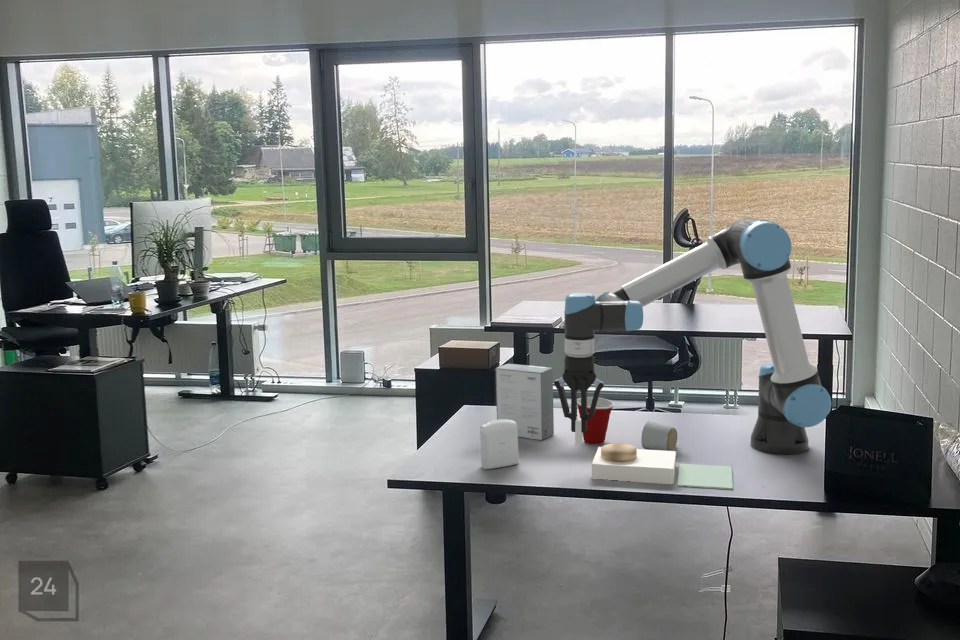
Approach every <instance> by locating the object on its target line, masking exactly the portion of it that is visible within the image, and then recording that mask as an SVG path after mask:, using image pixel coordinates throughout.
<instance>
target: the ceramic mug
mask: <svg viewBox="0 0 960 640" xmlns="http://www.w3.org/2000/svg"><path fill="white" fill-rule="evenodd" d="M640 439H641V442H640V443H641V447H642V448H643V449H645V450H663V451H675V449H676V446H677V443H678V431H677V429H676V428H675V427H673V426H672V425H667V424H664V423H663V424H662V423H657V422H655V421H648V420H647V422H645V424H644V426H643V429H642V431H641V438H640Z"/></svg>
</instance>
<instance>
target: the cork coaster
mask: <svg viewBox="0 0 960 640" xmlns="http://www.w3.org/2000/svg"><path fill="white" fill-rule="evenodd" d="M600 447H601V457H602V458H603V459H604V460H607V461H611V462H629V461H633V460H635V459H636V458H637V449H638V448H637V447H636V446H634V445H631V444H628V443H619V442H618V443H608V444H604V445H603V446H600Z"/></svg>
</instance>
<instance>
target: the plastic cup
mask: <svg viewBox="0 0 960 640" xmlns="http://www.w3.org/2000/svg"><path fill="white" fill-rule="evenodd" d="M592 400H593V396H587V413H589V411H590V407H591V403H592ZM614 406H615V402H614V401H612V400H610V399H607V398H603V397H599V398H598V401H597V405H596V409H595V413H594V416H593V418H592V419H588V420H587V430H586V432H585V433H583V437H582V439H583V441H584V443H585V444H587V445H592V444H598V445H602V444H601V443H603V442H604V443H605V441H606V436H607V431H608V426H609V421H610V417H611V413H612V409H613V408H614ZM577 410H578V414H579V418H581V397H579V398H578V397H577ZM604 443H603V444H604Z"/></svg>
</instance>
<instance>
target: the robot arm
mask: <svg viewBox="0 0 960 640" xmlns="http://www.w3.org/2000/svg"><path fill="white" fill-rule="evenodd" d="M792 248H793V247H792V241H791V238H790V235H789V233H788V232H787V230H785V228H783V227H782V226H781V225H779V224H778V223H776V222H774V221H770V220H768V219H767V220H766V219H757V218H751V217H747V218H742V219H739V220H737V221H734V222H733V223H731V224H729V225H727V226H725V227H724V228H722V229H720V230H718V231H717V232H715V233H713V234H711V235H709V236H708V237H706V239H705V242H704V243H702V244H700V245H699V246H696V247H694V248H692V249H690V250H688V251H687V252H684V253H683V254H681V255H679V256H677V257H675V258H673V259H671V260H670V261H667V262H665V263H663V264H661V265H660V266H658V267H656V268H654V269H652V270H650V271H648V272H646V273H644V274H642V275H641V276H639V277H638V276H637V277H636V278H634V279H632V280H631V281H629V282H626V283H624V284H623V285H621V286H619V287H617V288H615V289H613V290H612V291H604V292H601V293H599V294H598V295H597V296H596V297H595V294H593V293H590V292H574V293H568V294H567V295H566V297H565V300H564V301H565V302H564V312H563V313H564V353H565V355H564V369H563V370H564V371H563V373H562V376H561V377H560V378H556V379H555V380H554V381H553V386H554V387H555V388H556V390H557V392H558V395H559V396H558V397H559V401H560V405H561V408H562V409H561V410H562V413H563V416H564V418H568V419H570V422H571V423H570V426H571V427H570V429H571V430H570V431H571V432H572V433H575V435H574V436H575V437H574V439H575V440H574V445H575V446H577V447H579V446H581V447H582V444H583V433H585V432H586V430H587V420H588V419H592V418H593V416H594V413H595V409H596V405H597V401H598V398H600V394H601V390H602V389H603V388H604V386H605V384H606V383H605V381H603V380H600V379H599V378H597V374H596V373H595V356H594V354H595V343H596V342H595V339H596V338H595V334H596V333H595V332H604V331H605V332H615V331H616V332H617V331H618V332H619V331H621V332H622V331H624V332H630V331H638V330H640V329H641V328H642V326H643V323H644V309H643V307H646V306H647V305H650V304H651V303H653V302H655V301H657V300H659V299H662V298H663V297H665V296H666V295H669V294H672V293H673V292H675V291H677V290H678V289H680V288H682V287H684V286H687V285H688V284H690V283H693V282H695V281H696V280H698V279H700V278H702V277H704V276H706V275H708V274H709V273H712V272H714V271H716V270H718V269H722V270H726V269H728V268H730V267H732V266H735V265H739V264H740V268H741V271H742V272H741V273H742V274H743V279H744V280H745V281H747V282H748V283H750V284H751V285H752V289H753V292H754V297H755V300H756V301H755V302H756V304H757V309H758V311H759V315H760V318H761V319H760V320H761V322H762V327H763V330H764V334H765V338H766V343H767V345H768V346H767V347H768V350H769V353H770V357H771V360H772V363H767V364H766V363H765V364H763V365H761V366H760V368H759V374H758V399H757V400H758V401H757V402H758V404H757V407H758V408H757V409H758V410H757V412H758V413H757V419H756V422H755V423H754V427H753V430H752V432H751V436H750V446H751V447H753V448H754V449H755V450H758V451H760V452H765V453H769V454H776V455H777V454H778V455H794V454H795V455H796V454H801V453H804V452H807V451H808V450H809V437H808V435H807V430H806V428H812V427H815V426H817V425H820V424H821V423H822V422H823V421H824V420H825V419H826V418H827V416H828V415H829V414H830V412H831V408H832V398H831V396H830V393H829V392H828V390H827V389H826V388H825V387H824V386H822V382H821V379H820V376H819V371H818V368H817V367H816V366H814V365H813V364H811V363H810V362H809V358H808V353H807V350H806V346H805V341H804V338H803V334H802V330H801V326H800V323H799V319H798V314H797V310H796V307H795V302H794V299H793V294H792V290H791V287H790V283H789V280H788V274H789V273H790V270H791V269H792V264H791V260H790V256H791V253H792ZM565 383H566V385H567V387H568V388H569V389H570V407H569V403H568V398H567V394H566V390H565V387H564V385H565ZM593 384H594V386H593V387H594V388H595V390H594V393H593V396H592V397H593V400H592V403H591V407H590V411H589V413H587V397H588V390H589V389H590V387H591V386H592V385H593ZM578 391H580V398H581V418H580V417H578V405H577V399H578Z"/></svg>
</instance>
